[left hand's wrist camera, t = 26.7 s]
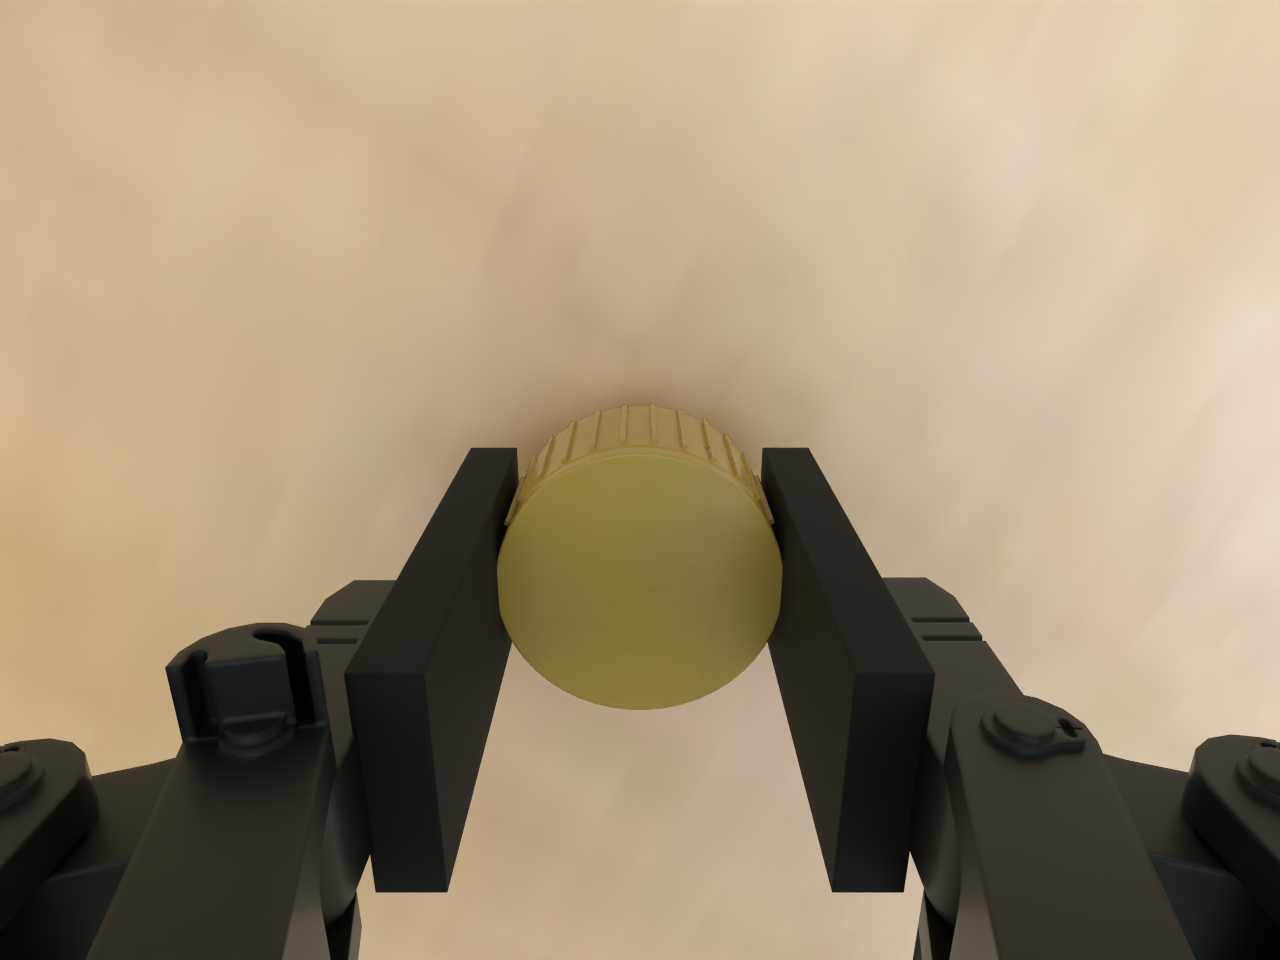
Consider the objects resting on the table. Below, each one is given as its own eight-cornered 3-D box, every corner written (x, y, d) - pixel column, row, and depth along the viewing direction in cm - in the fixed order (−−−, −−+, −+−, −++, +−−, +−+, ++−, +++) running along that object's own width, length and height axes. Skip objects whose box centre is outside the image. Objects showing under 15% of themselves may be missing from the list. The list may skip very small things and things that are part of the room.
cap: (725, 365, 13) (741, 408, 11) (793, 593, 15) (820, 670, 13) (475, 446, 14) (444, 502, 12) (565, 658, 15) (553, 744, 13)
